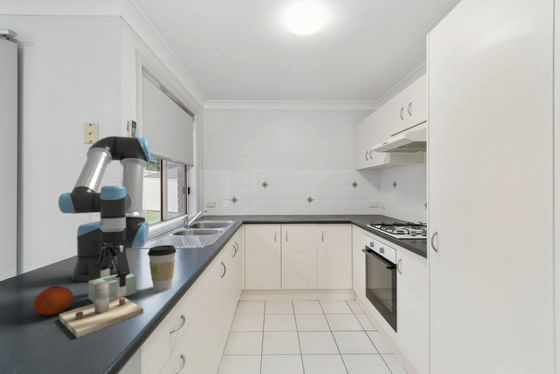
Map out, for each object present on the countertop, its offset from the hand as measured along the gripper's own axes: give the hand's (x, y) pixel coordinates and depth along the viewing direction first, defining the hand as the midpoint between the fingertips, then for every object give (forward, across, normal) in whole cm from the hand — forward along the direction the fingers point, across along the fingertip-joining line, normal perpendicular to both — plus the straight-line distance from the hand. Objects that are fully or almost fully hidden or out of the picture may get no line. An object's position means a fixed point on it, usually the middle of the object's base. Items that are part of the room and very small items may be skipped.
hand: (112, 292), depth 90 cm
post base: (+2, +14, -8) cm, 16 cm away
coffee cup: (+2, +7, +14) cm, 16 cm away
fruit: (+2, -1, -15) cm, 15 cm away
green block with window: (+2, 0, 0) cm, 2 cm away
